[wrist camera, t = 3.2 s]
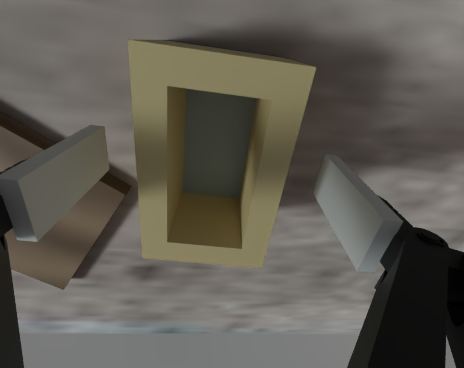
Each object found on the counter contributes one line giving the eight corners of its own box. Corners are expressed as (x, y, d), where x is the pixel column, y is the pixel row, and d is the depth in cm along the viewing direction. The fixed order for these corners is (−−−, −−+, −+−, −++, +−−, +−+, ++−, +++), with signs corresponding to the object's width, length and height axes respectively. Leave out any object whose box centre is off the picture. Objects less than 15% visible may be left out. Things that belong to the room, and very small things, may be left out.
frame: (165, 40, 14) (127, 39, 9) (285, 57, 15) (316, 67, 9) (165, 200, 20) (142, 258, 14) (253, 209, 20) (261, 268, 15)
